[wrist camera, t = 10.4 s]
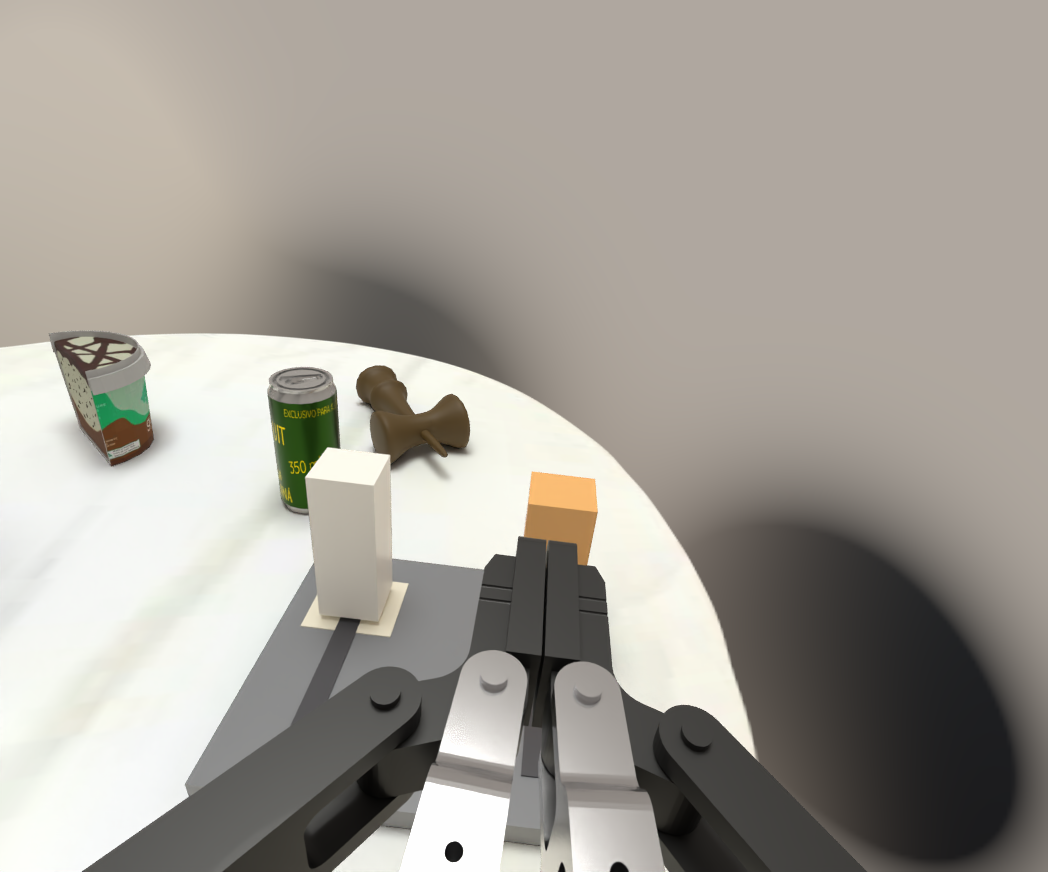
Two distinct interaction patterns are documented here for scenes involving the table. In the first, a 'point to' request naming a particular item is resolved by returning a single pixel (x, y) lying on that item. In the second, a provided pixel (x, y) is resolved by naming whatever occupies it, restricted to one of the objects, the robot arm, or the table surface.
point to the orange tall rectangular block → (562, 511)
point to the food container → (107, 390)
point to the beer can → (301, 427)
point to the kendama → (409, 416)
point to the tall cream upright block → (351, 532)
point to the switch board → (350, 652)
